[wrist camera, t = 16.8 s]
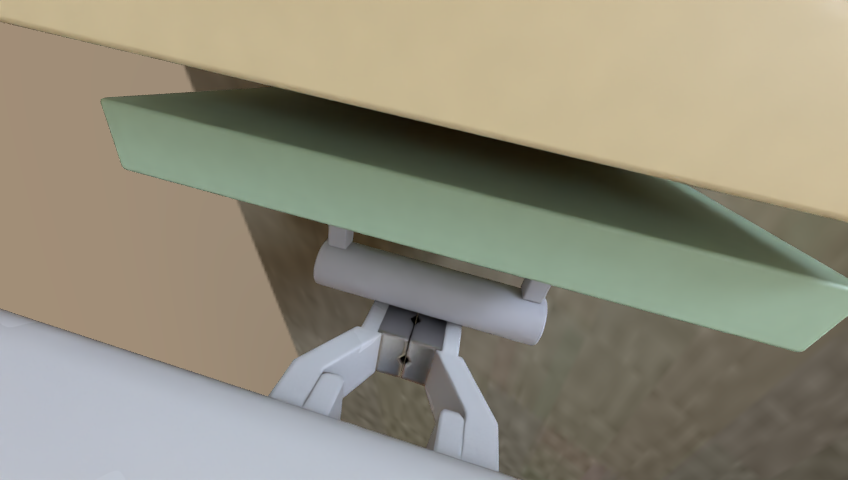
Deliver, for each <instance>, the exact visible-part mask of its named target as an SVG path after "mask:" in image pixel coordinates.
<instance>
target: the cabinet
mask: <svg viewBox="0 0 848 480" xmlns="http://www.w3.org/2000/svg"><path fill="white" fill-rule="evenodd" d="M0 22H3V23H8V24H12V25H16V26H21V27H25V28H28V29H33V30H37V31H41V32H45V33H50V34H54V35H58V36H62V37H66V38H71V39H75V40H80V41H83V42H88V43H92V44H96V45H100V46H105V47H109V48H113V49H117V50H121V51H126V52H130V53H134V54H139V55H142V56H147V57H151V58H155V59H159V60H164V61H168V62H172V63H176V64H181V65H185V66H189V67H193V68H197V69H202V70H206V71H210V72H214V73H218V74H223V75H227V76H231V77H235V78H240V79H244V80H248V81H252V82H256V83H261V84H265V85H269V86H273V87H278V88H282V89H286V90H290V91H294V92H299V93H303V94H307V95H311V96H316V97H320V98H324V99H328V100H332V101H337V102H341V103H345V104H349V105H354V106H358V107H362V108H366V109H370V110H375V111H379V112H383V113H387V114H392V115H396V116H400V117H404V118H408V119H413V120H417V121H421V122H425V123H430V124H434V125H438V126H442V127H446V128H451V129H455V130H459V131H463V132H468V133H472V134H476V135H480V136H484V137H489V138H493V139H497V140H501V141H506V142H510V143H514V144H518V145H522V146H527V147H531V148H535V149H539V150H544V151H548V152H552V153H556V154H560V155H565V156H569V157H573V158H577V159H582V160H586V161H590V162H594V163H598V164H603V165H607V166H611V167H615V168H620V169H624V170H628V171H632V172H636V173H641V174H645V175H649V176H653V177H658V178H662V179H666V180H670V181H674V182H679V183H683V184H687V185H691V186H696V187H700V188H704V189H708V190H712V191H717V192H721V193H725V194H729V195H734V196H738V197H742V198H746V199H750V200H755V201H759V202H763V203H767V204H772V205H776V206H780V207H784V208H788V209H793V210H797V211H801V212H805V213H809V214H814V215H818V216H822V217H826V218H831V219H835V220H839V221H843V222H847V223H848V0H0Z"/></svg>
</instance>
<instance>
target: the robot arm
mask: <svg viewBox="0 0 848 480" xmlns="http://www.w3.org/2000/svg"><path fill="white" fill-rule="evenodd" d="M417 316H418V317H417ZM416 319H417V320H416ZM415 322H416V324H415ZM461 329H462V325H459V324H455V323H452V322H448V321H445V320H441V319H438V318H434V317H431V316H427V315H424V314H421V313H417V312H414V311H410V310H407V309H403V308H400V307H396V306H393V305H389V304H386V303H383V302H379V301H376V300H375V301H374V303H373V305H372V307H371V309H370V311H369V313H368V315H367V317H366V319H365V320H364V322H363V324H362V326H361V327H359V326H356V327H354V328H352V329H350V330H348V331H346V332H345V333H343V334H341V335H339V336H337V337H335V338H333V339H331V340H330V341H328V342H326V343H324V344H322V345H320V346H318V347H316V348H315V349H313V350H311V351H309V352H307V353H305V354H303V355H301V356H299V357H298V358H296V359H294V360H293V361H292V363H291V365H290V366H289V367H288V369H287V370H286V371H285V373H284V374H283V376H282V377H281V379H280V380H279V381H278V383H277V384H276V386H275V387H274V389H273V390H272V391H271V393H270V394H269V396H265V395H262V394H259V393H256V392H252V391H250V390H246V389H243V388H240V387H237V386H234V385H231V384H228V383H225V382H222V381H219V380H216V379H213V378H209V377H207V376H204V375H201V374H198V373H194V372H192V371H188V370H185V369H182V368H179V367H176V366H173V365H170V364H167V363H164V362H161V361H158V360H155V359H152V358H148V357H146V356H143V355H140V354H137V353H134V352H131V351H127V350H124V349H121V348H118V347H115V346H112V345H109V344H106V343H103V342H100V341H97V340H94V339H91V338H88V337H85V336H82V335H78V334H76V333H72V332H70V331H67V330H63V329H61V328H57V327H54V326H51V325H48V324H45V323H42V322H39V321H36V320H33V319H30V318H27V317H24V316H21V315H18V314H15V313H12V312H9V311H6V310H3V309H0V480H521V479H518V478H515V477H512V476H509V475H506V474H503V473H500V472H499V453H498V423H497V421H496V420H495V418H494V416H493V414H492V412H491V410H490V408H489V406H488V405H487V403H486V401H485V399H484V397H483V395H482V393H481V391H480V390H479V388H478V386H477V384H476V382H475V380H474V378H473V376H472V375H471V373H470V371H469V369H468V367H467V365H466V363H465V361H464V360H463V358H462V357H459V356H458V354H459V346H460V337H461ZM405 358H406V359H405ZM404 362H405V363H404ZM403 365H404V366H403ZM402 368H403V371H402ZM375 371H379V372H382V373H386V374H389V375H393V376H396V377H400V374H401V371H402V375H401V378H403V379H406V380H409V381H412V382H415V383H417V384H420V385H423V386H425V390H426V394H427V397H428V400H429V403H430V407H431V410H432V413H433V417H434V420H435V423H436V424H435V426H434V429H433V431H432V434H431V436H430V439H429V441H428V444H427V446H426V448H424V447H421V446H417V445H414V444H411V443H408V442H405V441H402V440H399V439H396V438H393V437H390V436H387V435H384V434H381V433H378V432H375V431H372V430H369V429H366V428H362V427H359V426H356V425H353V424H350V423H347V422H344V421H341V420H340V418H341V408H342V399H343V398H344V397H345V396H346V395H347V394H349V393H350V392H351V391H352V390H354V389H355V388H356V387H357V386H359V385H360V384H361V383H362V382H363V381H365V380H366V379H367V378H368V377H370V376H371V375H372V374H373V373H374V372H375Z"/></svg>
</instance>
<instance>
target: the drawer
mask: <svg viewBox="0 0 848 480" xmlns="http://www.w3.org/2000/svg"><path fill="white" fill-rule="evenodd" d="M101 105H102V108H103V111H104V114H105V117H106V120H107V123H108V126H109V129H110V132H111V135H112V138H113V140H114V144H115V147H116V150H117V153H118V156H119V159H120V162H121V165H122V166H123V168H124V169H126V170H130V171H133V172H137V173H141V174H144V175H148V176H152V177H155V178H159V179H163V180H166V181H170V182H174V183H177V184H181V185H185V186H189V187H192V188H196V189H200V190H203V191H207V192H211V193H214V194H218V195H222V196H225V197H229V198H233V199H236V200H240V201H243V202H247V203H251V204H255V205H258V206H262V207H266V208H269V209H273V210H277V211H280V212H284V213H288V214H291V215H295V216H299V217H302V218H306V219H310V220H313V221H317V222H321V223H324V224H328V225H329V230H328V239H327V240H326V241H325V242H324V243H323V245H322V246H321V248H320V250H319V252H318V255H317V258H316V261H315V265H314V280H315V282H316V283H318V284H320V285H324V286H327V287H331V288H334V289H338V290H341V291H345V292H348V293H352V294H355V295H358V296H362V297H365V298H369V299H372V300H376V301H379V302H383V303H386V304H389V305H393V306H396V307H400V308H403V309H407V310H410V311H414V312H417V313H421V314H424V315H427V316H431V317H434V318H438V319H441V320H445V321H448V322H452V323H455V324H459V325H462V326H465V327H469V328H472V329H476V330H479V331H483V332H486V333H490V334H493V335H496V336H500V337H503V338H507V339H510V340H514V341H517V342H521V343H524V344H528V345H535V344H536V343H537V342H538V341H539V339H540V337H541V335H542V333H543V330H544V327H545V323H546V318H547V301H546V298H545V296H546V294H547V292H548V290H549V289H550V287H551V285H552V286H556V287H559V288H563V289H567V290H571V291H574V292H578V293H582V294H585V295H589V296H593V297H596V298H600V299H604V300H607V301H611V302H615V303H618V304H622V305H626V306H629V307H633V308H637V309H640V310H644V311H648V312H651V313H655V314H659V315H662V316H666V317H670V318H673V319H677V320H681V321H684V322H688V323H692V324H695V325H699V326H703V327H706V328H710V329H714V330H717V331H721V332H725V333H729V334H732V335H736V336H740V337H743V338H747V339H751V340H754V341H758V342H762V343H765V344H769V345H773V346H776V347H780V348H784V349H787V350H791V351H795V352H802V351H804V350H805V349H807V348H808V347H809V346H810V345H812V344H813V343H814V342H815V341H817V340H818V339H819V338H820V337H822V336H823V335H824V334H825V333H827V332H828V331H829V330H830V329H832V328H833V327H834V326H835V325H837V324H838V323H839V322H840V321H842V320H843V319H844V318H845V317H847V316H848V278H846V277H844V276H843V275H841V274H839V273H838V272H836V271H834V270H832V269H831V268H829V267H827V266H826V265H824V264H822V263H820V262H819V261H817V260H815V259H813V258H812V257H810V256H808V255H807V254H805V253H803V252H801V251H800V250H798V249H796V248H795V247H793V246H791V245H789V244H788V243H786V242H784V241H782V240H781V239H779V238H777V237H776V236H774V235H772V234H770V233H769V232H767V231H765V230H764V229H762V228H760V227H758V226H757V225H755V224H753V223H751V222H750V221H748V220H746V219H745V218H743V217H741V216H739V215H738V214H736V213H734V212H733V211H731V210H729V209H727V208H726V207H724V206H722V205H720V204H719V203H717V202H715V201H714V200H712V199H710V198H708V197H707V196H705V195H703V194H702V193H700V192H698V191H696V190H695V189H693V188H691V187H689V186H688V185H686V184H683V183H679V182H674V181H670V180H666V179H662V178H658V177H653V176H649V175H645V174H641V173H636V172H632V171H628V170H624V169H620V168H615V167H611V166H607V165H603V164H598V163H594V162H590V161H586V160H582V159H577V158H573V157H569V156H565V155H560V154H556V153H552V152H548V151H544V150H539V149H535V148H531V147H527V146H522V145H518V144H514V143H510V142H506V141H501V140H497V139H493V138H489V137H484V136H480V135H476V134H472V133H468V132H463V131H459V130H455V129H451V128H446V127H442V126H438V125H434V124H430V123H425V122H421V121H417V120H413V119H408V118H404V117H400V116H396V115H392V114H387V113H383V112H379V111H375V110H370V109H366V108H362V107H358V106H354V105H349V104H345V103H341V102H337V101H332V100H328V99H324V98H320V97H316V96H311V95H307V94H303V93H299V92H294V91H290V90H286V89H282V88H278V87H265V88H249V89H233V90H217V91H201V92H186V93H170V94H155V95H138V96H123V97H107V98H103V99H101ZM353 232H357V233H361V234H365V235H368V236H372V237H376V238H379V239H383V240H387V241H390V242H394V243H398V244H401V245H405V246H409V247H413V248H416V249H420V250H424V251H427V252H431V253H435V254H438V255H442V256H446V257H449V258H453V259H457V260H460V261H464V262H468V263H471V264H475V265H479V266H482V267H486V268H490V269H493V270H497V271H501V272H504V273H508V274H512V275H515V276H519V277H523V278H525V279H524V281H523V283H522V285H521V288H518V287H514V286H511V285H507V284H504V283H500V282H496V281H493V280H489V279H485V278H482V277H478V276H474V275H471V274H467V273H464V272H460V271H456V270H453V269H449V268H445V267H442V266H438V265H434V264H431V263H427V262H424V261H420V260H416V259H413V258H409V257H405V256H402V255H398V254H395V253H391V252H387V251H384V250H380V249H376V248H373V247H369V246H365V245H362V244H358V243H355V242H352V241H353Z"/></svg>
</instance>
